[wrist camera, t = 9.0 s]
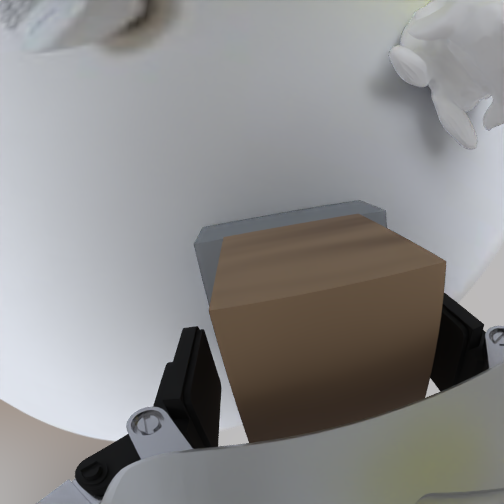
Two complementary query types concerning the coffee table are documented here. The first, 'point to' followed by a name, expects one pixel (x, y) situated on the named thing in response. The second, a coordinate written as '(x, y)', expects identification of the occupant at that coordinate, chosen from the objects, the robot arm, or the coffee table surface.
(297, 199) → the coffee table surface
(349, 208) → the plinth
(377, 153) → the coffee table surface
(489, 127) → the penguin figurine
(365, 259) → the walnut brick
